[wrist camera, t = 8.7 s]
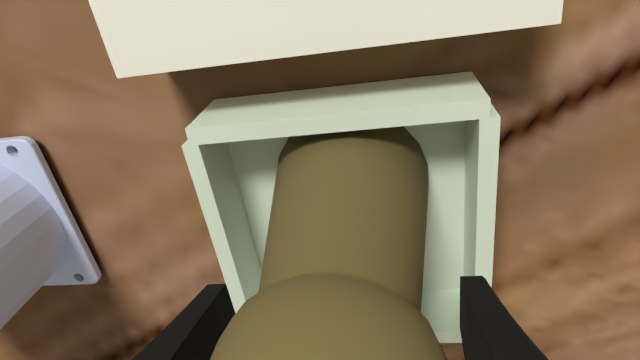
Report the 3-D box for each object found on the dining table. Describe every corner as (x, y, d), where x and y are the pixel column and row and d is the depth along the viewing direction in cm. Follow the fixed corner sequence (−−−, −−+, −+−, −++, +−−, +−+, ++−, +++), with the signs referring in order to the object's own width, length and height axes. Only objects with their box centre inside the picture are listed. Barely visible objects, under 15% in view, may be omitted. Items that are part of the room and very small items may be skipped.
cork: (463, 172, 17) (578, 492, 7) (361, 264, 19) (346, 584, 10) (337, 74, 15) (273, 303, 6) (248, 187, 18) (104, 470, 9)
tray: (261, 295, 22) (245, 344, 19) (207, 100, 17) (176, 130, 14) (474, 289, 20) (488, 342, 17) (480, 70, 15) (501, 98, 13)
